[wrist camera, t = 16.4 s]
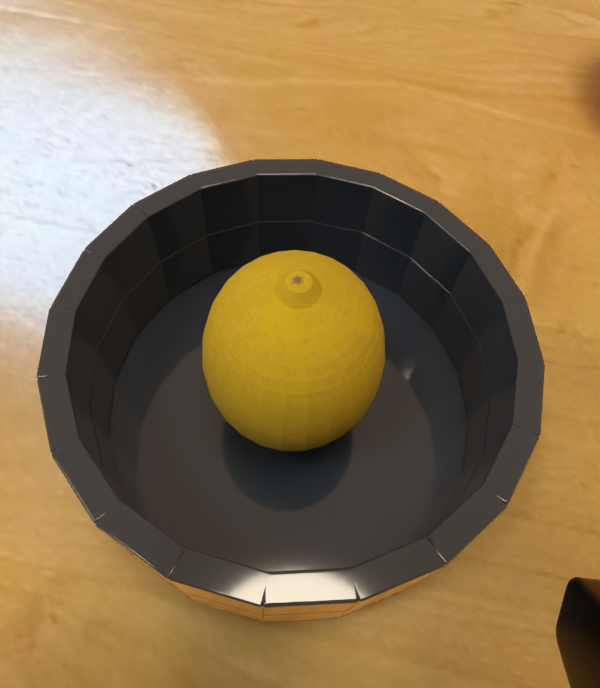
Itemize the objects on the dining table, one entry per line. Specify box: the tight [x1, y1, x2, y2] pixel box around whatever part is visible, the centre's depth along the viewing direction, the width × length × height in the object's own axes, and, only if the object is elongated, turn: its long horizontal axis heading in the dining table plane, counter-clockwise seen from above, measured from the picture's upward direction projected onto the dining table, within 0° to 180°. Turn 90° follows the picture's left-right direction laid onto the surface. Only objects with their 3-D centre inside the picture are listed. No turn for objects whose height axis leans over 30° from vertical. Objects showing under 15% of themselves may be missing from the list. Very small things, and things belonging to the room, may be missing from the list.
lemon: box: [202, 250, 385, 451], centre depth 18 cm, size 6×6×8 cm
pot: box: [37, 159, 545, 621], centre depth 19 cm, size 15×15×6 cm
